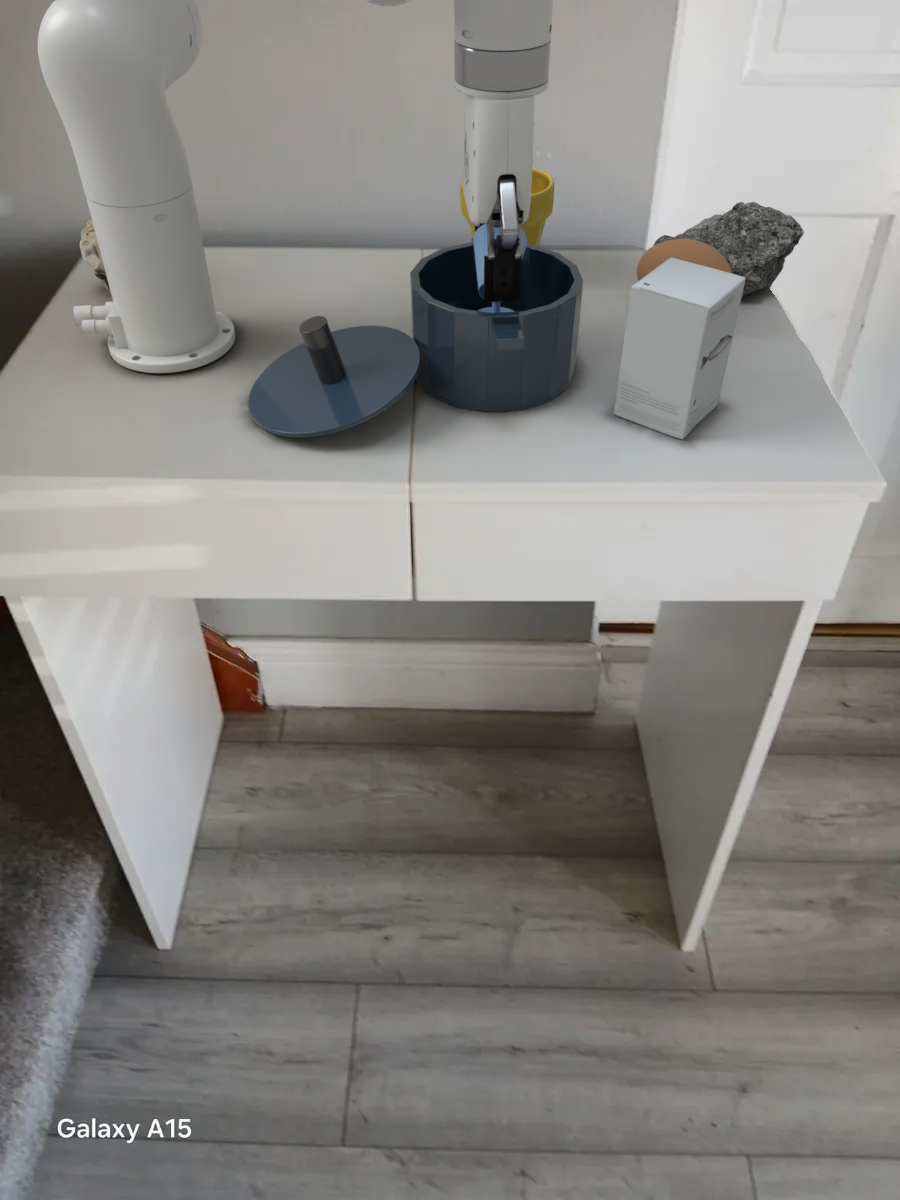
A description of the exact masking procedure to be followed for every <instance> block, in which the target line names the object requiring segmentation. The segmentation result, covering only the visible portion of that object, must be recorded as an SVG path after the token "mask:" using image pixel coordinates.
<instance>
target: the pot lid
mask: <svg viewBox="0 0 900 1200" xmlns="http://www.w3.org/2000/svg"><path fill="white" fill-rule="evenodd" d="M298 330H299V333H300V336H301V338H302V340H303V342H301V343H300V344H298V345H296V346H294V347H292V348H291V349H289V350H288V351H285V352H284V353H283V354H281V355H280V356H279V357H278V358H276V359H275V360H273V361H272V362H271V363H270V364H269V365H267V367H266V368H264V370H263V371H262V372H261V373H260V375H258V377H257V378H256V380H255V382H254V383H253V385H252V387H251V389H250V392H249V396H248V401H247V404H248V410H249V414H250V416H251V418H252V419H253V421H254V422H255V424H257V425H258V426H259V427H260V428H261V429H263V430H264V431H266V432H269V433H271V434H274V435H275V436H276V435H277V436H280V437H286V438H287V437H288V438H313V437H319V436H326V435H330V434H335V433H339V432H342V431H345V430H348V429H351V428H354V427H356V426H358V425H360V424H363V423H365V422H367V421H369V420H371V419H373V418H374V417H376V416H378V415H380V414H381V413H383V412H385V411H386V410H388V408H390V407H392V406H393V405H395V403H397V402H398V401H400V400H401V398H402V397H403V396H404V395H406V393H407V392H408V391H409V390H410V388H412V386H413V385H414V383H415V381H417V380H416V378H417V376H418V374H419V371H420V368H421V354H420V350H419V347H418V345H417V344H416V342H415V341H414V340H413V339H412V336H411V335H409V334H407V333H406V332H404V331H402V330H400V329H397V328H393V327H390V326H383V325H359V326H358V325H357V326H349V327H345V328H340V329H336V330H333V331H332V330H331V327H330V324H329V321H328V319H327V318H326V316H322V315H316V316H312V317H310V318H307V319H305V320H304V321H303V322H301V323H300V325H299V326H298Z"/></svg>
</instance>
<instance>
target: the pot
mask: <svg viewBox="0 0 900 1200" xmlns="http://www.w3.org/2000/svg"><path fill="white" fill-rule="evenodd" d="M470 240H471V241H470V242H466V243H460V244H456V245H452V246H447V247H442V248H441V249H438V250H437V251H436V250H435V252H433V253H430V254H428V255H427V256H425V257H421V259H420V260H419V261H418V262H417V263H416V265H414V267H413V268H412V270H411V271H410V273H409V277H410V278H409V279H410V280H409V282H410V286H409V287H410V309H411V312H410V313H411V314H410V315H411V338H412V339H413V340H414V341H415V342H416V344H417V345H418V347H419V350H420V354H421V368H420V371H419V374H418V376H417V378H416V380H415V381H416V382H417V384H418V385H419V386H420V388H421V389H422V390H423V391H425V392H426V394H428V395H430V396H431V397H433V398H435V400H438V401H440V402H442V403H445V404H448V405H450V406H453V407H456V408H460V409H464V410H470V411H477V412H487V413H488V412H489V413H501V412H502V413H503V412H505V413H506V412H514V411H521V410H527V409H530V408H534V407H537V406H541V405H543V404H545V403H547V402H550V401H552V400H553V399H556V398H557V397H558V396H559V395H562V393H564V392H565V390H566V389H567V388H568V387H569V385H570V383H572V379H573V377H574V373H575V370H576V361H577V352H578V351H577V350H578V341H579V332H580V331H579V330H580V329H579V328H580V318H581V308H582V298H583V286H584V279H583V277H582V273H581V272H580V270H579V269H580V268H579V267H578V265H577V264H575V263H574V262H573V261H571V260H569V259H568V258H567V257H565V256H564V255H563V254H561V253H559V252H556V251H554V250H550V249H547V248H544V247H541V246H539V247H538V246H535V245H530V244H527V246H526V249H525V252H524V255H523V258H522V267H521V291H520V298H519V300H516V301H503V302H500V307H504V308H508V309H511V310H513V311H515V312H498V313H488V312H481V311H478V310H480V309H483V308H487V307H492V302H487V301H485V300H484V299H483V298H482V297H481V296H480V295H479V291H478V282H477V272H476V262H475V252H474V242H473V238H471V237H470Z"/></svg>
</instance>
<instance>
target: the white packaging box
mask: <svg viewBox="0 0 900 1200" xmlns="http://www.w3.org/2000/svg"><path fill="white" fill-rule="evenodd" d="M745 280H746V278H745V277H742V276H739V275H735V274H732V273H728V272H725V271H721V270H717V269H714V268H710V267H706V266H702V265H698V264H695V263H691V262H687V261H683V260H679V259H675V258H669V259H668V260H666V261H665V262H664V263H662V264H661V265H660V266H658V267H657V268H656V269H654V270H653V271H651V272H650V273H649V274H647V275H646V276H645V277H643V278H642V279H641V280H639V281H638V280H637V282H635V283H634V284H632V285H631V286H630V292H629V298H628V299H629V300H628V305H627V306H628V307H627V312H626V313H627V314H626V322H625V328H624V336H623V342H622V350H621V356H620V364H619V370H618V371H619V372H618V378H617V386H616V393H615V400H614V407H613V412H612V413H613V415H615V416H617V417H620V418H622V419H625V420H628V421H630V422H633V423H636V424H638V425H641V426H644V427H646V428H649V429H651V430H654V431H657V432H660V433H663V434H665V435H668V436H670V437H672V438H676V439H679V440H684V439H685V438H686V437H687V436H688V434H690V432H691V431H692V430H693V429H694V428H695V427H696V426H697V425H698V424H699V423H700V422H701V421H702V420H703V419H704V418H705V417H707V415H708V414H709V413H711V412H712V411H713V410H714V409H715V408H716V407H717V406H718V405H719V401H720V397H721V393H722V387H723V383H724V380H725V375H726V371H727V366H728V361H729V357H730V353H731V349H732V344H733V343H732V342H733V339H734V334H735V330H736V325H737V320H738V315H739V310H740V307H741V302H742V298H743V296H742V293H743V289H744V284H745Z"/></svg>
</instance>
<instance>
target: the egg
mask: <svg viewBox="0 0 900 1200" xmlns="http://www.w3.org/2000/svg"><path fill="white" fill-rule="evenodd" d="M653 245H654V244H653ZM653 245H652V246H651V247H649V248H648V249H646V251H644V253H643V254H642V255H641V257H640V258H639V261H638V263H637V268H636V276H637V282H638V281H639V280H641V279H642V278H643V277H645V276H646V275H647V274H649V273H650V272H651V271H653V270H654V269H656V268H657V267H658V266H660V265H661V264H662V263H664V262H665V261H666V260H668V259H669V258H675V259H679V260H683V261H687V262H691V263H695V264H698V265H702V266H706V267H710V268H714V269H717V270H721V271H725V272H728V273H732V271H731V268H730V266H729V264H728V262H727V260H726V259H725V257H724V256H723V255H722V254H721V253H720V252H719V251H718V250H717V249H715V248H714V247H712V246H711V245H709V244H706V243H704V242H701V241H697V240H693V239H682V238H681V239H674V240H667V241H664V242H661V243H658V244H656V245H654V246H653Z"/></svg>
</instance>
